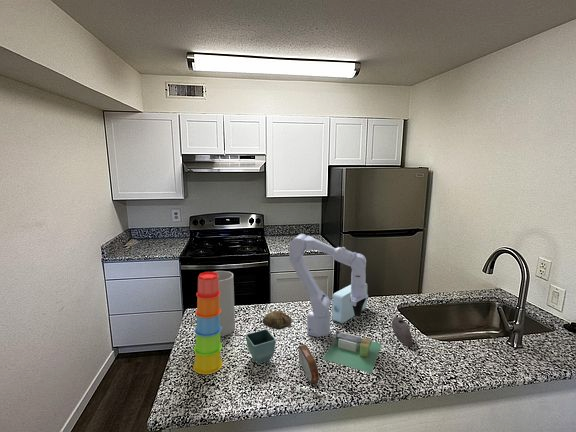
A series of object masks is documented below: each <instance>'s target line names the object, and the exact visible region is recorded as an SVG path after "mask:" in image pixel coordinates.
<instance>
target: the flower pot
mask: <svg viewBox="0 0 576 432" xmlns="http://www.w3.org/2000/svg"><path fill="white" fill-rule="evenodd" d="M245 338H246V344H247V348H248V352H249V353H250V355H251V356H252V358H253V360H254V361H255V362H256V364H257V365H259V364H261V363H265V362H268V361H270V360H271V359H272V358H273V356H274V353H275V350H276V349H275V348H276V341H277V340H276V338H275V336H273V334H272V333H271V332H270V331H269V330H268V329H267V328H264V329H261V330H258V331H254V332H250V333H247V334H245Z"/></svg>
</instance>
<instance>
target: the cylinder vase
mask: <svg viewBox="0 0 576 432" xmlns="http://www.w3.org/2000/svg"><path fill="white" fill-rule="evenodd" d="M214 272H215V273H217V274H218V276H219V291H220V295H219V308H220V309H221V313H220V326H221V331H220V337H224V336H225V337H226V336H227V335H230V334H231V333H233V332H235V331H234V330H235V328H236V318H235V317H236V316H235V290H234V289H235V286H234V273H233V272H231V271H227V270H226V271H225V270H216V271H214Z"/></svg>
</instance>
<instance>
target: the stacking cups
mask: <svg viewBox="0 0 576 432" xmlns="http://www.w3.org/2000/svg"><path fill="white" fill-rule="evenodd" d="M195 295H196V297H197V299H196V300H197V301H196V306H197V307H196V311H195V315H196V327H195V329H194V333H195V345H194V347H193V351H194V353H195V354H194V355H195V356H194V357H195V358H194V361H195V362H194V363H193V366H192V368H193V370H194V372H195V373H197V374H200V375H211V374H214V373H216V372H218V371H219V370H220V369H222V367H223V363H224V361H223V359H222V357H221V350H222V349H223V344H222V342H221V336H220V331H221V326H220V313H221V309H220V308H219V295H220V291H219V276H218V274H217V273H215V271H204V272H201V273H199V275H198V276H197V292H196V294H195Z"/></svg>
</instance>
